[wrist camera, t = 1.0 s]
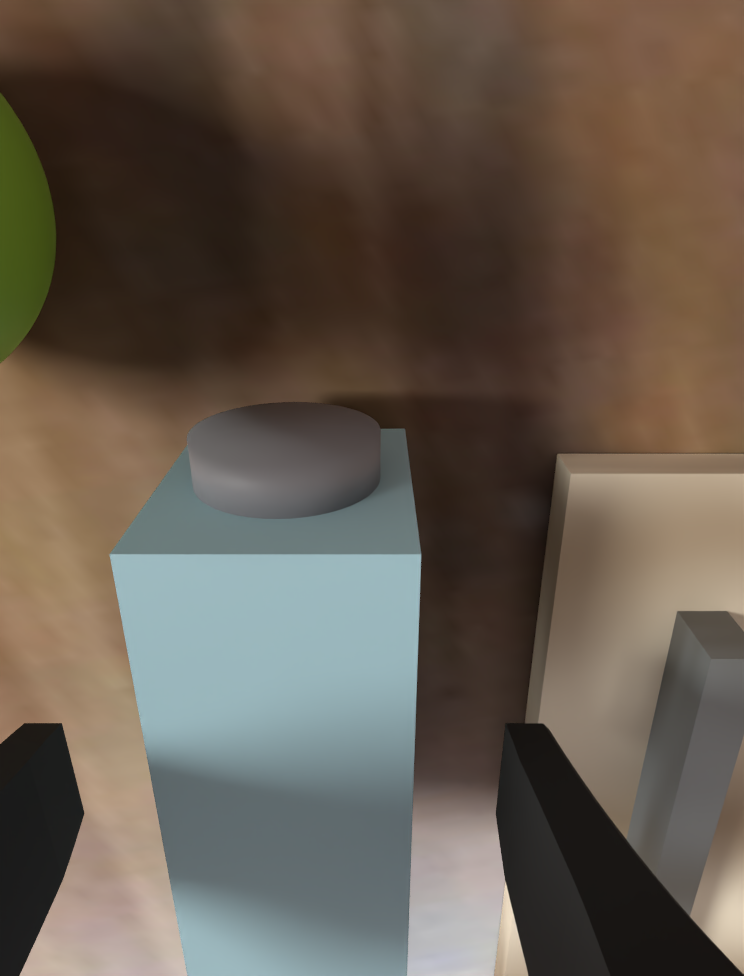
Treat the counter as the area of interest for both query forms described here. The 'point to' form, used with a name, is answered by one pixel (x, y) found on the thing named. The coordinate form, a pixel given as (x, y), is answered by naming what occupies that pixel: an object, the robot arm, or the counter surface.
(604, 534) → the jig board
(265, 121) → the counter surface
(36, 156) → the snail figurine
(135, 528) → the pale blue tall carton
